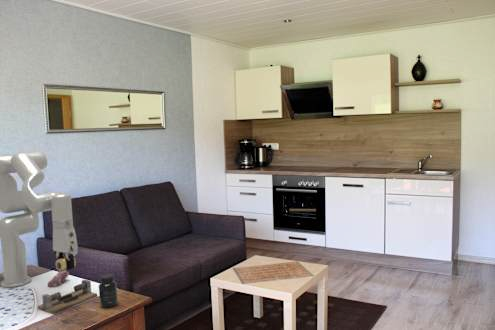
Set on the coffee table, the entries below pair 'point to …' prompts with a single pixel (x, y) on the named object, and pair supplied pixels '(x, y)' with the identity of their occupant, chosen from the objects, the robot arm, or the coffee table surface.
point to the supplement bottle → (108, 291)
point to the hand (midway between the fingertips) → (66, 267)
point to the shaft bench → (67, 298)
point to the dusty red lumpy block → (58, 278)
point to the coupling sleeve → (62, 264)
